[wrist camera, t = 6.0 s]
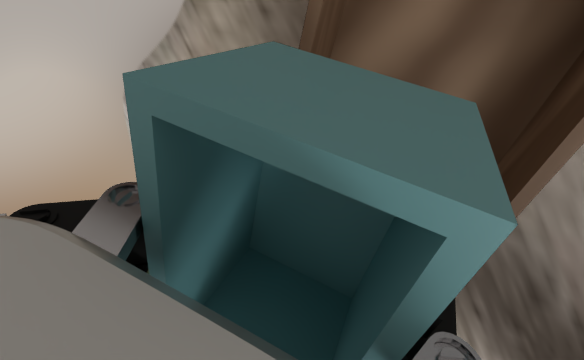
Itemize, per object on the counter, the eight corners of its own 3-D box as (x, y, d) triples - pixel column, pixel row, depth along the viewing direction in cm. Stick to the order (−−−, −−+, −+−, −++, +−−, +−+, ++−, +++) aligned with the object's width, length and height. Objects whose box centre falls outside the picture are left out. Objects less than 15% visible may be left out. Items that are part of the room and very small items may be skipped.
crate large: (648, -20, 16) (740, -31, 11) (475, 206, 25) (483, 254, 20) (360, -84, 19) (333, -113, 14) (301, 136, 28) (273, 163, 23)
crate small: (476, 102, 9) (517, 224, 4) (362, 301, 14) (323, 450, 9) (273, 41, 10) (122, 73, 5) (244, 242, 16) (158, 345, 11)
